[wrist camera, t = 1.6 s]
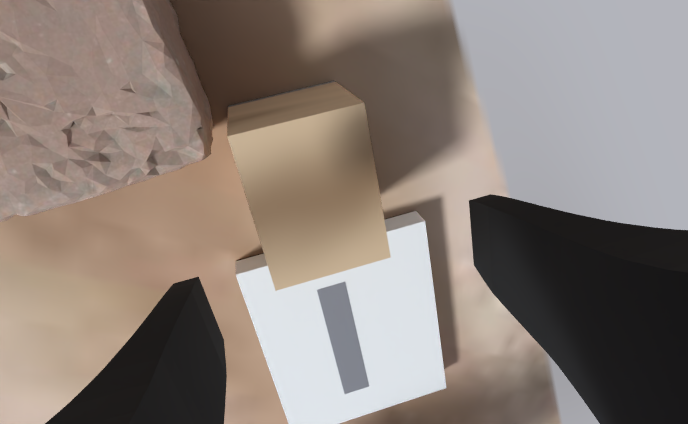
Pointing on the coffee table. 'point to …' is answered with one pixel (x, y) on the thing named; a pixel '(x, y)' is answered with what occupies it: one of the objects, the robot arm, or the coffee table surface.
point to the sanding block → (309, 181)
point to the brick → (93, 100)
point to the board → (351, 331)
